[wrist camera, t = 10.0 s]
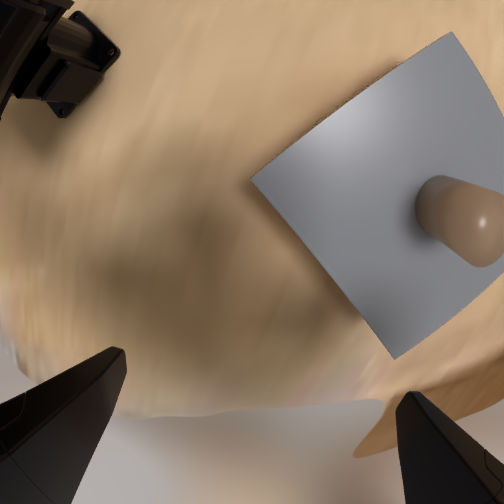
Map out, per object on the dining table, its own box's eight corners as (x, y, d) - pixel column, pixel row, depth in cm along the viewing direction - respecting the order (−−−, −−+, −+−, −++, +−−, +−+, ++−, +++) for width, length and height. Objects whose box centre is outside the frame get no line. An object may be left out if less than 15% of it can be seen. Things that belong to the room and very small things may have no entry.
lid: (251, 177, 14) (240, 196, 9) (444, 35, 10) (497, 10, 5) (390, 351, 17) (415, 408, 12) (534, 226, 13) (582, 253, 8)
